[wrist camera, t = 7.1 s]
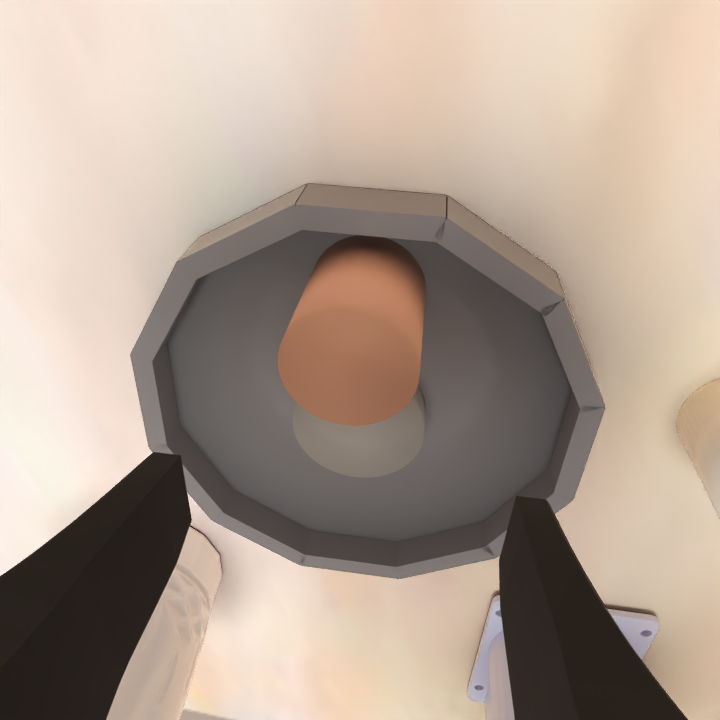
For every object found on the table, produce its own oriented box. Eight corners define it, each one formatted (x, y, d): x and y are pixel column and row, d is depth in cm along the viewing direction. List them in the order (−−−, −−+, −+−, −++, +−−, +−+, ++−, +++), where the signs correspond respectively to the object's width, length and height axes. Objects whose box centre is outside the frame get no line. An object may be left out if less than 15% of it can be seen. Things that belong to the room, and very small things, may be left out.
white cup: (123, 601, 35) (21, 802, 27) (62, 504, 31) (-82, 706, 22) (252, 600, 33) (186, 814, 25) (206, 498, 29) (108, 713, 21)
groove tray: (534, 560, 28) (539, 597, 27) (184, 515, 30) (168, 547, 28) (645, 212, 19) (664, 236, 17) (125, 167, 20) (96, 186, 19)
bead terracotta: (419, 343, 22) (412, 433, 18) (311, 332, 22) (279, 417, 18) (432, 240, 20) (427, 315, 16) (311, 229, 20) (275, 299, 16)
